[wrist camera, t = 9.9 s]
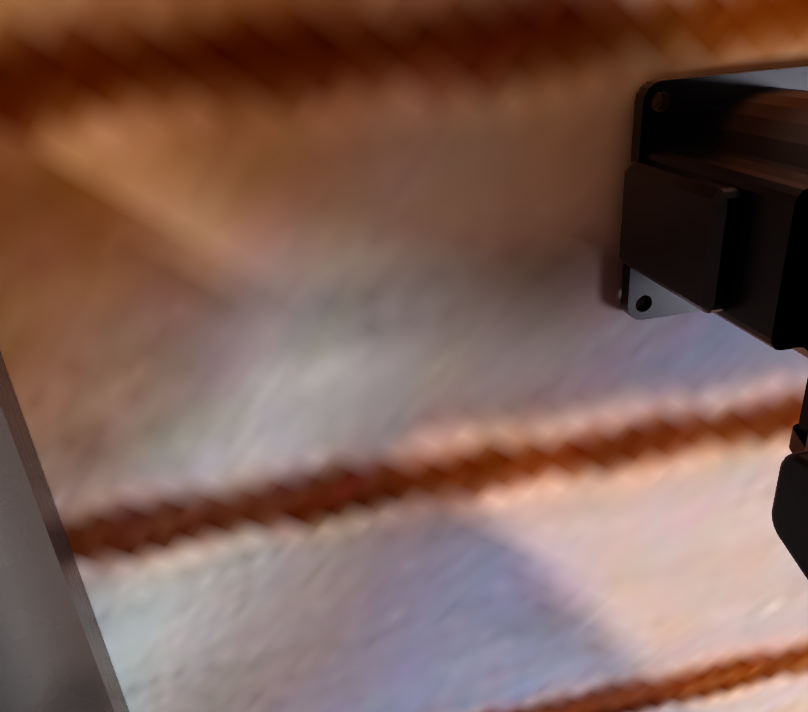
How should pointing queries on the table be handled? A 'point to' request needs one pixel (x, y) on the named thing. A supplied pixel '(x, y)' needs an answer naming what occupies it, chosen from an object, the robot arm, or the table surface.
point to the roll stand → (43, 591)
